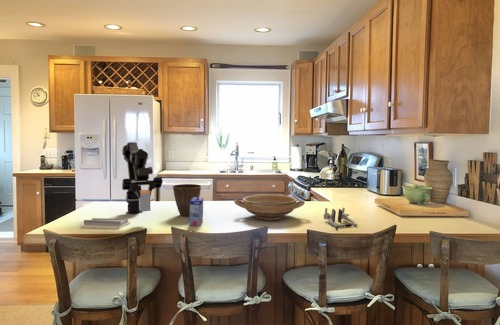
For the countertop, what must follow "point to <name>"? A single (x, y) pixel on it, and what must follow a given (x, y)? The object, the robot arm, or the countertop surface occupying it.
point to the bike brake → (340, 216)
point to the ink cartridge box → (196, 211)
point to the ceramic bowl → (269, 205)
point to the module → (144, 200)
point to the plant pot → (185, 197)
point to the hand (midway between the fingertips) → (145, 197)
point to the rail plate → (105, 223)
